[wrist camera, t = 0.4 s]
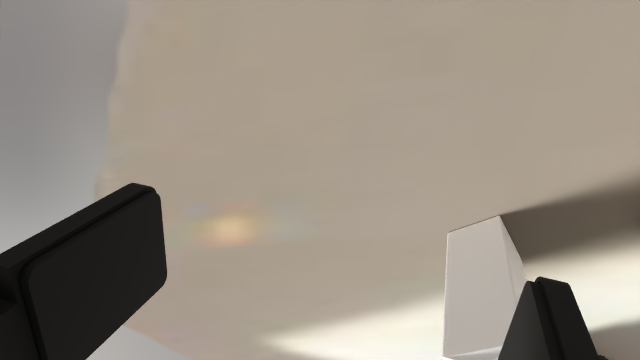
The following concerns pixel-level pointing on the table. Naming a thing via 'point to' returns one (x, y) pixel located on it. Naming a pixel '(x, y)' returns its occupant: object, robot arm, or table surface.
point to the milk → (480, 290)
